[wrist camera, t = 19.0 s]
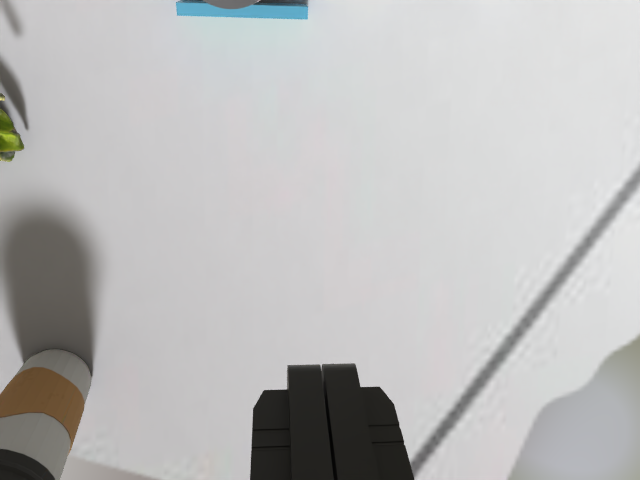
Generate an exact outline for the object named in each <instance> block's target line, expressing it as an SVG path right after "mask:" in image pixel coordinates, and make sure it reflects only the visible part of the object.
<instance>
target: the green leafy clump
mask: <svg viewBox="0 0 640 480" xmlns="http://www.w3.org/2000/svg"><path fill="white" fill-rule="evenodd" d="M0 100H3V101H4V100H5V96H4V95H3V94H1V93H0ZM23 149H24V145H23V143H22V140H21V138H20V135H19V133H17V131H16V130H15V128H14V126H13V123H12V121H11V120H10V118H9V117H8V115H7V114H6V113H5V112H4V111H3V110H2V109H1V108H0V161H1V160H2V161H7V162H10V161H11V160H12V159H13V158H14V154H15V151H21V150H23Z"/></svg>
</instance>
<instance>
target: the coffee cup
mask: <svg viewBox="0 0 640 480" xmlns="http://www.w3.org/2000/svg"><path fill="white" fill-rule="evenodd" d="M90 386H91V375H90V371H89V368H88V366H87V365H86V363H85V362H84V361H83V360H82V359H81V358H80V357H78V356H77V355H75V354H73V353H71V352H68V351H65V350H58V349H53V350H45V351H42V352H40V353H38V354H35V355H34V356H32V357H30V358H29V359H28V360H27V361H26V362H25V363H24V365H23V366H22V367H21V369H20V370H19V371H18V373H17V374H16V375H15V377H14V378H13V379H12V380H11V381H10V382H9V384H8V385H7V386H6V387H5V389H4V390H3V391H2V393H1V394H0V480H60V477H61V475H62V472H63V469H64V465H65V462H66V459H67V456H68V454H69V452H70V450H71V448H72V445H73V442H74V438H75V435H76V432H77V429H78V426H79V423H80V420H81V417H82V414H83V411H84V404H85V401H86V398H87V395H88V392H89V389H90Z"/></svg>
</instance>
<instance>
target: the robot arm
mask: <svg viewBox="0 0 640 480" xmlns="http://www.w3.org/2000/svg"><path fill="white" fill-rule="evenodd" d="M250 480H414V477H413V473H412V469H411V466H410V462H409V458H408V455H407V451H406V447H405V445H404V440H403V436H402V433H401V429H400V428H399V421H398V418H397V414H396V410H395V407H394V404H393V402H392V401H391V400H390V399H389V398H388V396H387V395H386V394H385V393H384V391H383V390H382V389H381V388H380V387H360V383H359V378H358V373H357V369H356V365H355V364H322V370H321V367H320V365H288V368H287V390H264V391H263V393H262V394H261V396H260V398H259V400H258V401H257V403H256V405H255V407H254V408H253V428H252V451H251V474H250Z"/></svg>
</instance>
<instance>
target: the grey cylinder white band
mask: <svg viewBox="0 0 640 480" xmlns="http://www.w3.org/2000/svg"><path fill="white" fill-rule="evenodd" d="M203 1H204V2H206V3H208V4H210V5H213V6H215V7H219V8H223V9H240V8H244V7H247V6H250V5H252V4H254V3H256V2H258V1H260V0H203Z"/></svg>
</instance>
